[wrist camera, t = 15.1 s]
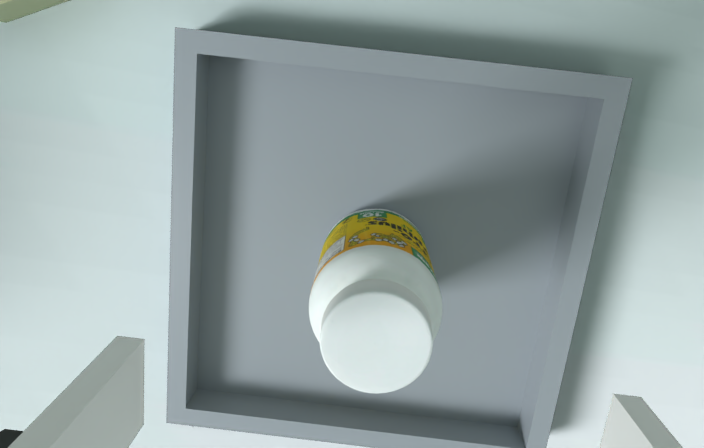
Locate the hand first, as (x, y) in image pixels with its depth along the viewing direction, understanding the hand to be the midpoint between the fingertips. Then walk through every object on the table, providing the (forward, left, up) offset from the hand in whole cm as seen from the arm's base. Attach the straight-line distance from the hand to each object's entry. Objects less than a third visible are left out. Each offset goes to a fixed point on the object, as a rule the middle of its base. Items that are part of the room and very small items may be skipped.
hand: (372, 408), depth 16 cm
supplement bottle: (0, 0, -14) cm, 14 cm away
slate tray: (0, 0, -14) cm, 14 cm away
